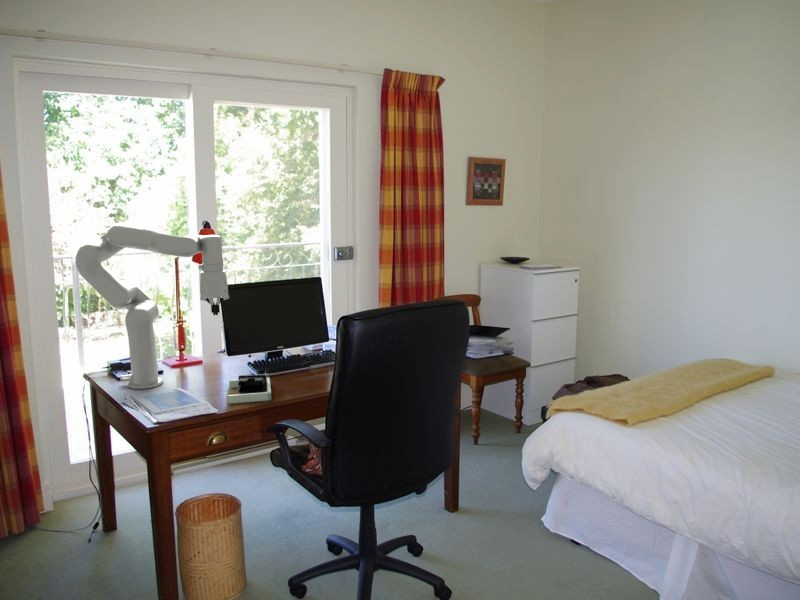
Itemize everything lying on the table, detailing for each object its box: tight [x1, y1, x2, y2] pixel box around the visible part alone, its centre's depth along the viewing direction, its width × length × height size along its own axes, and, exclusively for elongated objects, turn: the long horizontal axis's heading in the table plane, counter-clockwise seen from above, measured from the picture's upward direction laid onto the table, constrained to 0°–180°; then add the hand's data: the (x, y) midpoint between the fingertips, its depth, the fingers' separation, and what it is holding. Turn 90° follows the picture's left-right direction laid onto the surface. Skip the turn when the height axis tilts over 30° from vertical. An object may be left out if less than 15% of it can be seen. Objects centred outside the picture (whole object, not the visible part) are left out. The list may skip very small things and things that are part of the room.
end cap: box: [237, 374, 268, 394], centre depth 244 cm, size 10×7×7 cm
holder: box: [227, 376, 272, 404], centre depth 244 cm, size 15×18×3 cm
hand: (215, 314), depth 253 cm, fingers closed
